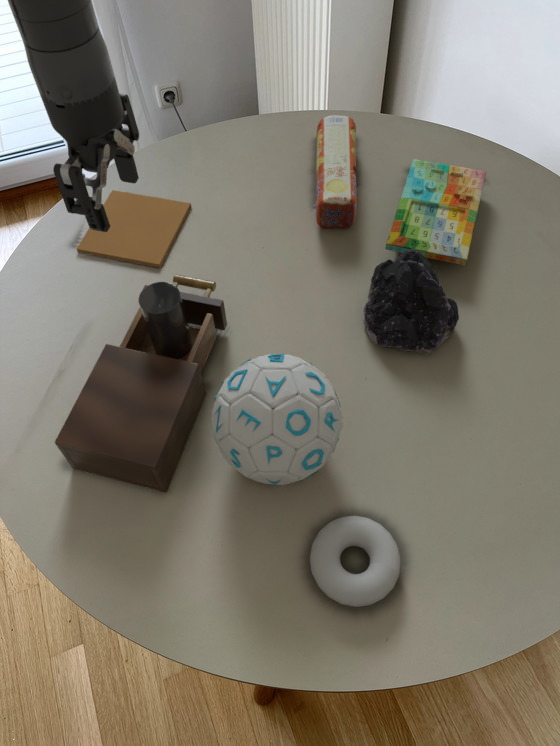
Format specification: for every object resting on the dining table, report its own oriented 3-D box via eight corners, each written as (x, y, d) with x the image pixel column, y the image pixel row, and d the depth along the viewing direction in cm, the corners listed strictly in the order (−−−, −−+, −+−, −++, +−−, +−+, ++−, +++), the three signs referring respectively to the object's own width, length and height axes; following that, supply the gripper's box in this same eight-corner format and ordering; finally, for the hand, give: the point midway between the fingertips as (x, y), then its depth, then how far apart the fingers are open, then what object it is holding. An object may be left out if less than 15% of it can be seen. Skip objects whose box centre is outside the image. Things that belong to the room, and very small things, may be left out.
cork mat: (77, 252, 102) (76, 248, 101) (113, 193, 109) (112, 189, 109) (160, 268, 99) (159, 264, 99) (191, 206, 107) (190, 202, 106)
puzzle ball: (213, 502, 78) (195, 444, 65) (226, 395, 86) (212, 325, 74) (340, 507, 77) (346, 449, 65) (340, 398, 85) (346, 328, 73)
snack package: (355, 232, 102) (358, 199, 96) (313, 232, 102) (314, 199, 97) (354, 146, 114) (356, 112, 108) (316, 146, 114) (316, 112, 109)
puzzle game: (487, 166, 103) (468, 255, 92) (481, 189, 106) (461, 278, 96) (414, 153, 105) (386, 239, 95) (410, 177, 109) (383, 262, 98)
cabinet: (119, 374, 89) (105, 343, 83) (206, 393, 87) (198, 363, 81) (72, 468, 81) (54, 442, 75) (166, 492, 79) (155, 467, 73)
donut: (310, 521, 76) (309, 609, 71) (310, 510, 73) (309, 600, 68) (395, 523, 76) (401, 611, 70) (399, 511, 73) (405, 602, 67)
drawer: (163, 287, 96) (156, 262, 92) (236, 302, 94) (232, 277, 90) (114, 385, 87) (104, 363, 82) (195, 403, 85) (189, 381, 80)
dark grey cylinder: (148, 356, 88) (131, 309, 79) (162, 326, 91) (147, 278, 82) (184, 364, 87) (171, 317, 79) (197, 333, 90) (186, 285, 81)
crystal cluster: (427, 378, 87) (448, 332, 79) (340, 331, 91) (352, 282, 83) (465, 316, 94) (489, 268, 86) (383, 275, 98) (398, 225, 90)
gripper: (72, 34, 68) (111, 161, 82) (5, 115, 61) (60, 241, 74) (138, 42, 67) (167, 170, 80) (78, 126, 59) (121, 252, 73)
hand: (116, 204), depth 77 cm, fingers open, 8 cm apart
